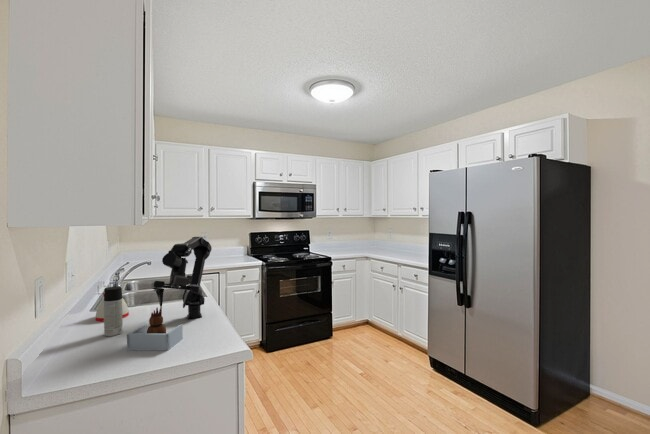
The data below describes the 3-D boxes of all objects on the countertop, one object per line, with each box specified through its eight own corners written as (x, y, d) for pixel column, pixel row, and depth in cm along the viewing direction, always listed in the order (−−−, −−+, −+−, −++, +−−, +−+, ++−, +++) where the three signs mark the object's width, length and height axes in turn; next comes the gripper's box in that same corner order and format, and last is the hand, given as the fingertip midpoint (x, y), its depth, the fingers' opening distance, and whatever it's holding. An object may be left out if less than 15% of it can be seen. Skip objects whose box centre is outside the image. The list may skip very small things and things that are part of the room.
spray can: (120, 329, 143) (119, 285, 143) (124, 333, 138) (123, 287, 138) (102, 333, 138) (101, 287, 138) (106, 338, 133) (105, 290, 133)
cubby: (144, 338, 132) (144, 324, 132) (182, 338, 131) (182, 324, 131) (127, 350, 121) (126, 334, 121) (168, 350, 120) (167, 334, 120)
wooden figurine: (168, 340, 130) (168, 303, 130) (161, 346, 124) (161, 308, 124) (151, 341, 130) (151, 304, 129) (144, 347, 124) (143, 308, 124)
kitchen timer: (126, 319, 158) (126, 288, 158) (92, 323, 152) (92, 292, 152) (130, 311, 171) (129, 283, 170) (99, 315, 165) (98, 286, 165)
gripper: (160, 264, 132) (153, 303, 126) (205, 270, 143) (200, 306, 137) (153, 269, 140) (146, 306, 134) (197, 274, 151) (192, 309, 145)
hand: (172, 307), depth 137 cm, fingers open, 9 cm apart
